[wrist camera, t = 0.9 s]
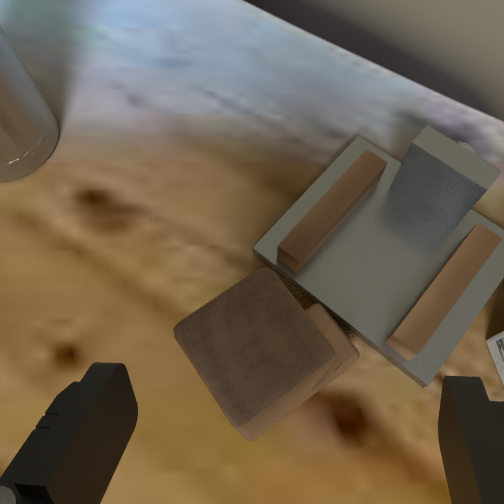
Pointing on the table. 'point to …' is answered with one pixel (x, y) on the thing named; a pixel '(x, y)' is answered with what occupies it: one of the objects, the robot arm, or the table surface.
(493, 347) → the light bulb box
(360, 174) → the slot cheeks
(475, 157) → the shaft bed
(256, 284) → the wooden block
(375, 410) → the table surface
